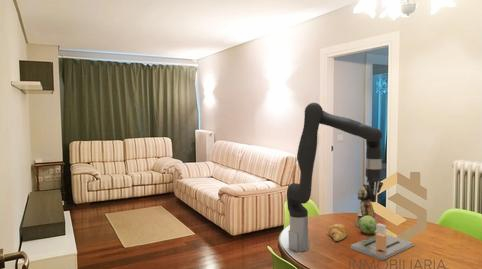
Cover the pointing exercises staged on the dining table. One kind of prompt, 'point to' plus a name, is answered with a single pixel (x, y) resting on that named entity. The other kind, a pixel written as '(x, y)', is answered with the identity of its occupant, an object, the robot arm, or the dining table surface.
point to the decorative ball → (367, 224)
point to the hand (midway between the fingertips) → (373, 201)
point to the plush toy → (364, 205)
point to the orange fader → (380, 241)
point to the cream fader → (381, 229)
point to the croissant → (337, 231)
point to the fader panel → (392, 248)
